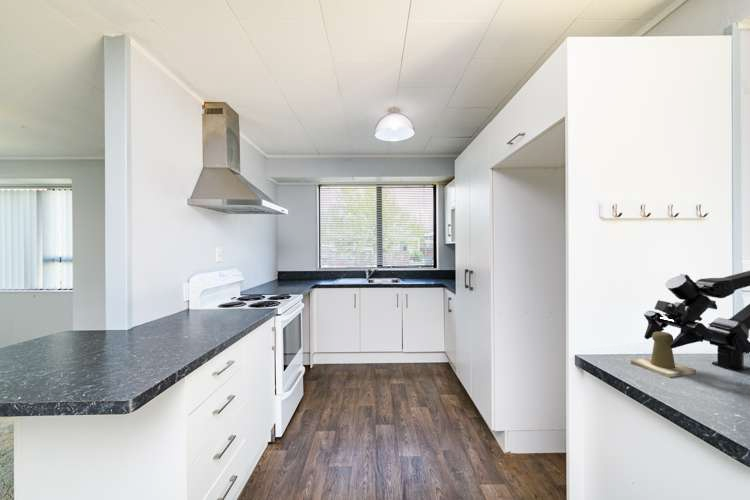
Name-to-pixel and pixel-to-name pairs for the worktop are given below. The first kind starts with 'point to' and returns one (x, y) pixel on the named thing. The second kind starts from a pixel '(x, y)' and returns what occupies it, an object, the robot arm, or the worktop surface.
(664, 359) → the cork
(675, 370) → the birch trivet
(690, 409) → the worktop surface
